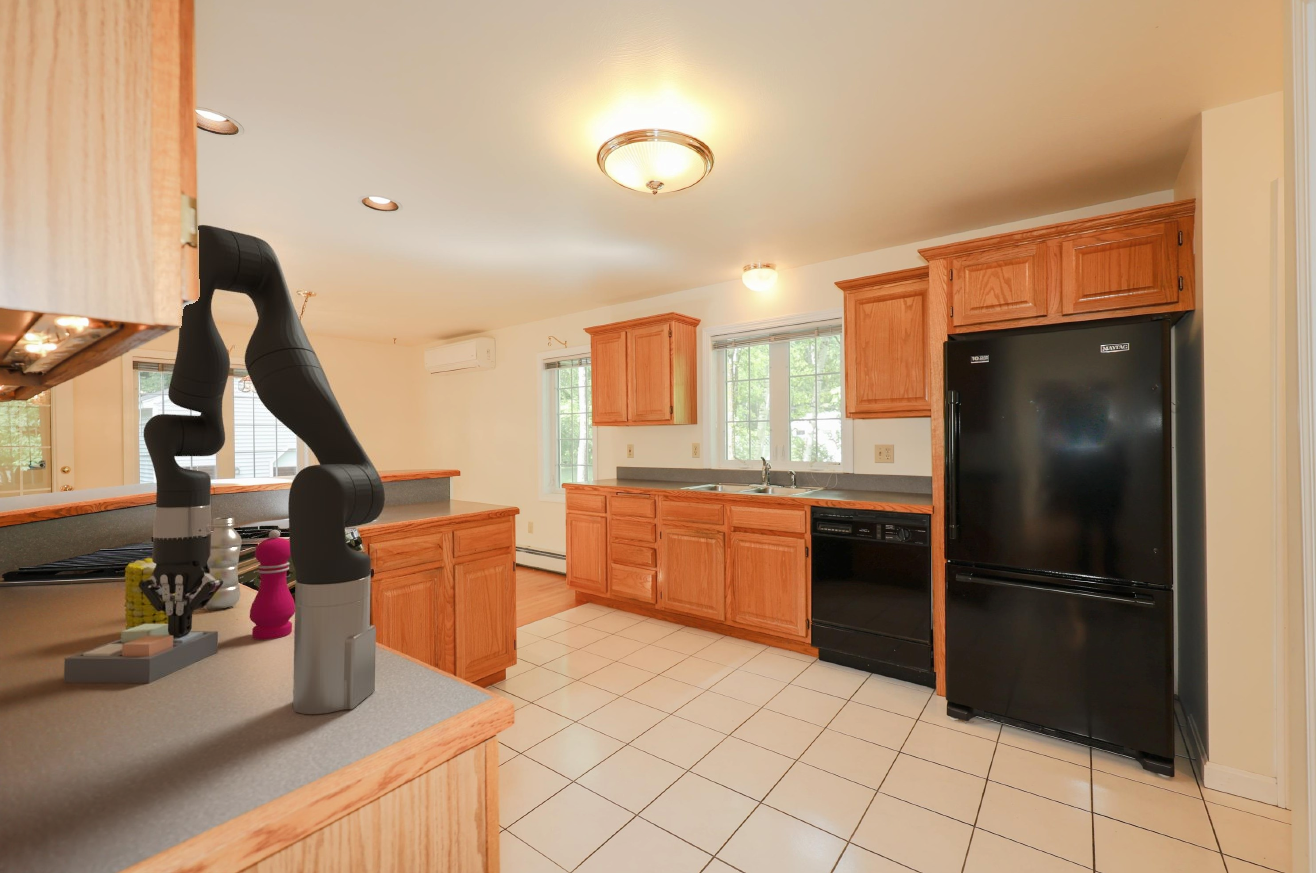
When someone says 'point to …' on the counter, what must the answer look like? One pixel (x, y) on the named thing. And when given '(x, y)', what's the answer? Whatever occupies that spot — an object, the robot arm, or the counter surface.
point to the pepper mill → (272, 590)
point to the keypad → (138, 662)
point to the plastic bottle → (224, 562)
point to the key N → (105, 650)
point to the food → (140, 596)
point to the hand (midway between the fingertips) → (179, 635)
